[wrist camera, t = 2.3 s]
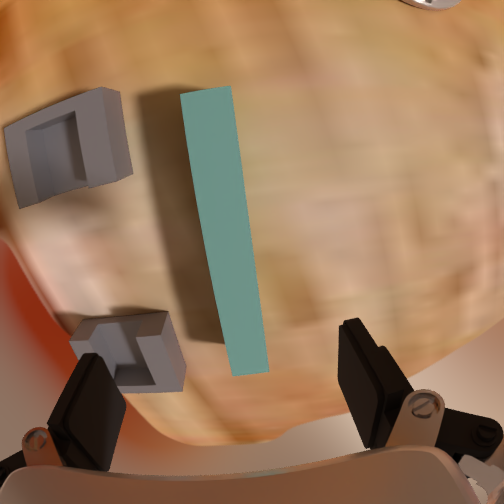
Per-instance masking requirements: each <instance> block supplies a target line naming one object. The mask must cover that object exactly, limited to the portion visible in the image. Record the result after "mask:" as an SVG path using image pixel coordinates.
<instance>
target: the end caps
mask: <svg viewBox="0 0 504 504" xmlns="http://www.w3.org/2000/svg"><path fill="white" fill-rule="evenodd" d="M4 133H5V141H6V147H7V153H8V159H9V165H10V170H11V175H12V180H13V185H14V189H15V194H16V198H17V202H18V206H19V209H21V208H24V207H27V206H30V205H33V204H37V203H40V202H42V201H44V200H46V199H48V198H50V197H52V196H55V195H58V194H61V193H64V192H68V191H71V190H75V189H78V188H82V187H86V186H89V188H93V187H96V186H100V185H104V184H108V183H112V182H116V181H119V180H121V179H123V178H125V177H127V176H129V175H132V174H133V170H132V164H131V159H130V154H129V148H128V143H127V137H126V131H125V124H124V118H123V111H122V104H121V97H120V92H119V91H115V90H112V89H108V88H105V87H99V88H96V89H93V90H91V91H88V92H85V93H82V94H79V95H77V96H74V97H72V98H69V99H66V100H64V101H61V102H59V103H57V104H54V105H52V106H49V107H47V108H45V109H43V110H40V111H38V112H36V113H34V114H32V115H29V116H27V117H25V118H23V119H21V120H19V121H17V122H15V123H13V124H11V125H9V126H7V127H5V128H4ZM69 342H70V345H71V347H72V349H73V350H74V352H75V354H76V356H77V358H78V360H80V358H81V356H82V355H83V354H84V353H97V354H98V355H99V356H101V357H102V358H103V359H104V361H105V363H106V365H107V367H108V370H109V371H110V373H111V375H112V377H113V379H114V381H115V383H116V385H117V387H118V389H119V391H120V393H162V392H182V391H183V385H184V379H185V372H186V363H185V361H184V358H183V355H182V352H181V349H180V346H179V343H178V340H177V337H176V334H175V331H174V328H173V325H172V322H171V318H170V315H169V312H168V311H167V312H158V313H149V314H140V315H130V316H120V317H109V318H98V319H86V320H82V322H81V323H80V325H79V326H78V328H77V329H76V331H75V332H74V334H73V335H72V337H71V338H70V340H69Z"/></svg>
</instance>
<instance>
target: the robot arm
mask: <svg viewBox="0 0 504 504" xmlns="http://www.w3.org/2000/svg"><path fill="white" fill-rule="evenodd" d="M402 1H404V2H406V3H408V4H411V5H413V6H415V7H419V8H422V9H426V10H434V11H439V10H446V9H448V8H451V7H454V6H455V5H457V4H458V3H460V1H461V0H402ZM338 382H339V385H340V388H341V390H342V393H343V395H344V397H345V400H346V402H347V405H348V407H349V410H350V412H351V415H352V417H353V420H354V422H355V424H356V427H357V430H358V432H359V435H360V437H361V440H362V442H363V445H364V447H365V448H366V449H367V448H370V450H367V451H363V452H359V453H354V454H349V455H345V456H341V457H336V458H332V459H327V460H322V461H318V462H312V463H307V464H301V465H296V466H290V467H284V468H278V469H271V470H263V471H255V472H245V473H234V474H220V475H200V476H158V475H137V474H122V473H111V472H107V471H109V469H110V465H111V461H112V457H113V454H114V450H115V446H116V442H117V439H118V435H119V432H120V428H121V425H122V421H123V418H124V414H125V411H126V402H125V400H124V398H123V396H122V394H121V393H120V391H119V389H118V387H117V385H116V383H115V381H114V379H113V377H112V375H111V373H110V371H109V370H108V367H107V365H106V363H105V361H104V359H103V358H102V357H101V356H99V355H98V354H97V353H84V354H83V355H82V356H81V358H80V360H79V362H78V363H77V365H76V367H75V369H74V371H73V373H72V374H71V376H70V378H69V380H68V382H67V384H66V386H65V388H64V390H63V392H62V394H61V395H60V397H59V399H58V402H57V404H56V405H55V407H54V410H53V412H52V414H51V416H50V418H49V420H48V422H47V424H48V426H49V427H48V429H45V428H43V427H36V428H33V429H31V430H29V431H28V432H27V433H26V434H25V435H24V437H23V439H22V450H21V451H19V452H17V453H15V454H13V455H12V456H10V457H8V458H6V459H4V460H3V461H1V462H0V504H481V503H480V501H479V499H478V497H477V496H476V494H475V492H474V490H473V488H472V486H471V484H470V482H469V481H468V479H467V478H473V479H474V480H476V481H477V483H476V484H477V485H479V486H481V487H482V488H483V489H484V490H485V491H486V493H487V495H488V500H487V503H486V504H504V434H503V430H502V427H501V426H500V424H499V423H498V422H497V421H495V420H493V419H491V418H487V417H482V416H478V415H473V414H469V413H465V412H460V411H456V410H452V409H448V408H445V403H444V400H443V398H442V397H441V396H440V395H439V394H438V393H436V392H434V391H431V390H426V389H421V390H416V391H414V389H413V388H412V386H411V385H410V383H409V382H408V380H407V378H406V377H405V375H404V374H403V372H402V371H401V369H400V368H399V366H398V365H397V363H396V362H395V360H394V359H393V357H392V356H391V354H390V353H389V351H388V350H387V348H386V347H385V346H380V347H378V346H377V344H376V343H375V341H374V340H373V338H372V337H371V335H370V334H369V332H368V331H367V329H366V328H365V326H364V325H363V323H362V322H361V320H360V319H359V318H353V319H349V320H344V322H343V325H340V326H339V349H338Z"/></svg>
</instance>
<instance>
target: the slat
mask: <svg viewBox="0 0 504 504" xmlns="http://www.w3.org/2000/svg"><path fill="white" fill-rule="evenodd" d="M180 99H181V106H182V113H183V120H184V127H185V134H186V140H187V147H188V153H189V159H190V166H191V172H192V178H193V184H194V190H195V195H196V201H197V207H198V212H199V218H200V223H201V229H202V234H203V240H204V245H205V250H206V255H207V260H208V265H209V270H210V275H211V280H212V285H213V290H214V295H215V300H216V304H217V309H218V314H219V318H220V323H221V327H222V332H223V336H224V341H225V345H226V350H227V354H228V358H229V363H230V367H231V371H232V375H233V376H240V375H248V374H256V373H264V372H269V365H268V357H267V350H266V342H265V335H264V328H263V320H262V313H261V305H260V298H259V290H258V283H257V275H256V268H255V261H254V253H253V246H252V238H251V231H250V224H249V216H248V209H247V201H246V194H245V187H244V179H243V172H242V165H241V157H240V150H239V143H238V135H237V128H236V121H235V113H234V106H233V99H232V91H231V86H225V87H218V88H211V89H205V90H199V91H194V92H188V93H183V94H180Z"/></svg>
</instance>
